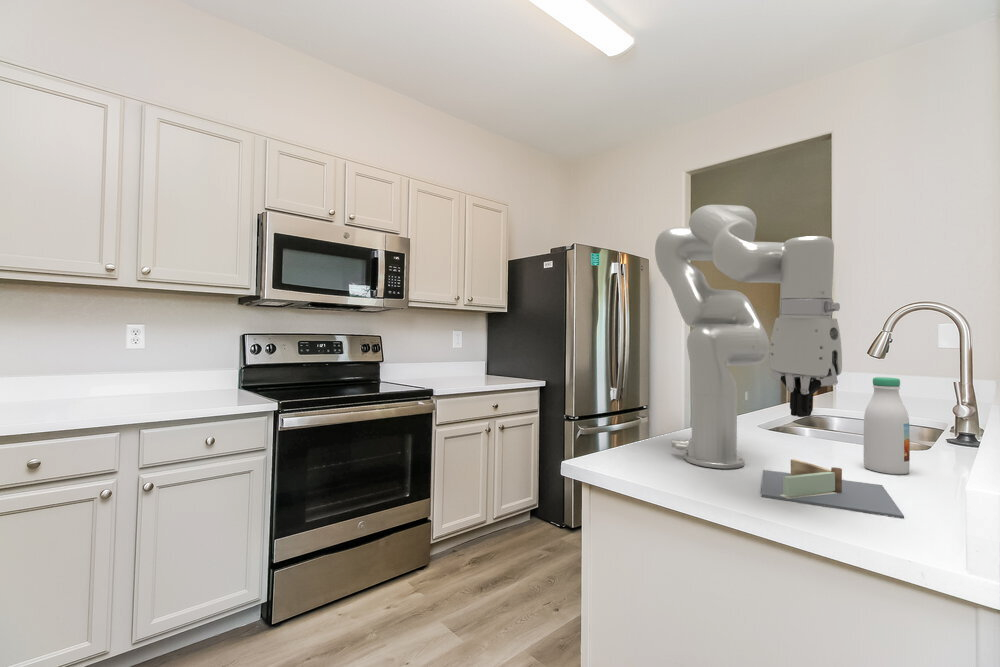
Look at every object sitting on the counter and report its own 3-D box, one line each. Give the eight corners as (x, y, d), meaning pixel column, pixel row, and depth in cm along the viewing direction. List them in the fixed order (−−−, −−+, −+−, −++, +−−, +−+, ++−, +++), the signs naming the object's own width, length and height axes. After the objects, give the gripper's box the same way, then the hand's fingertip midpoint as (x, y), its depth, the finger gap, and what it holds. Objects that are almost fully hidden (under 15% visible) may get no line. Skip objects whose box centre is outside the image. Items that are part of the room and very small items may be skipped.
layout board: (761, 496, 85) (761, 494, 85) (763, 471, 101) (763, 469, 101) (904, 518, 75) (904, 515, 75) (882, 487, 91) (882, 484, 91)
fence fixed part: (789, 478, 96) (789, 455, 96) (795, 477, 97) (795, 455, 97) (837, 495, 86) (837, 470, 86) (844, 494, 87) (844, 469, 87)
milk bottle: (896, 477, 97) (896, 380, 98) (855, 467, 105) (855, 377, 105) (917, 472, 101) (917, 378, 101) (876, 463, 108) (876, 375, 108)
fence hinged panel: (829, 488, 88) (829, 471, 88) (835, 490, 87) (835, 473, 87) (783, 494, 84) (783, 476, 84) (788, 496, 83) (788, 478, 83)
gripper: (866, 310, 76) (861, 422, 77) (776, 310, 90) (772, 406, 91) (839, 309, 73) (835, 427, 74) (750, 309, 86) (747, 409, 87)
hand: (800, 415), depth 82 cm, fingers closed
